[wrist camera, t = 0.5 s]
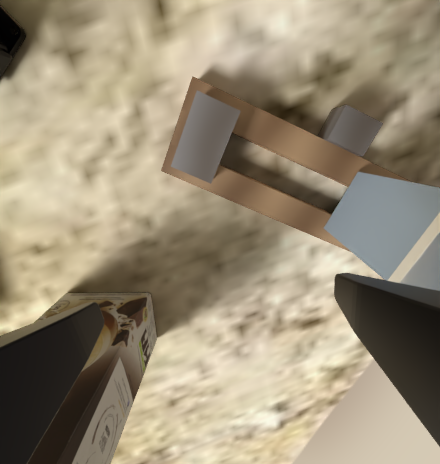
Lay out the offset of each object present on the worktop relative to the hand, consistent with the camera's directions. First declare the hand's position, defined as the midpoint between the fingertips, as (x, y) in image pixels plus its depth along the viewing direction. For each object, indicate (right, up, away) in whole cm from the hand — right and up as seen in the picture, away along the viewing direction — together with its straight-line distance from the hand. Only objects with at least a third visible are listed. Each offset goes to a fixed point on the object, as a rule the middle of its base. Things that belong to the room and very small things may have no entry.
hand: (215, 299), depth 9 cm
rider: (+12, +5, +12) cm, 18 cm away
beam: (+8, +7, +11) cm, 16 cm away
